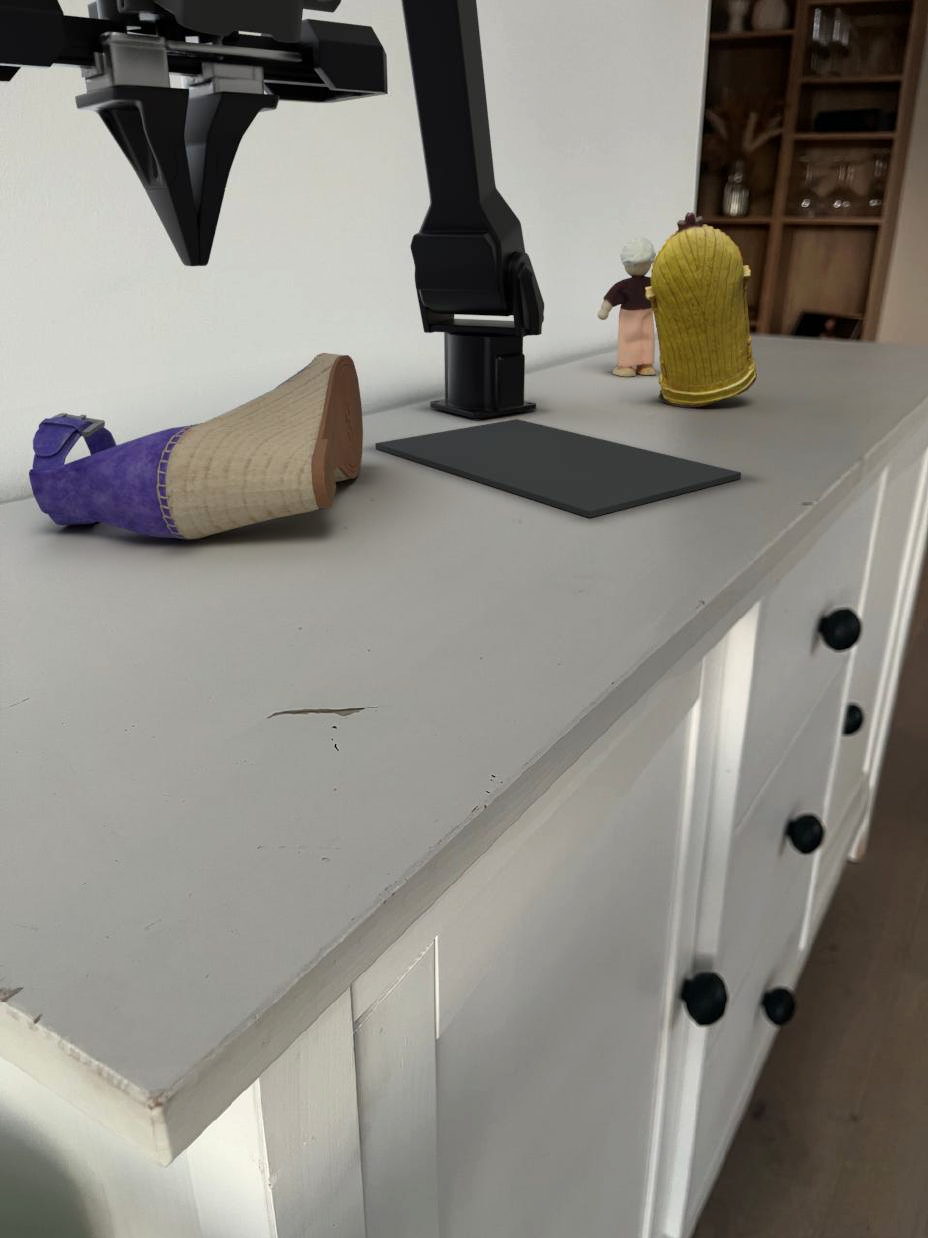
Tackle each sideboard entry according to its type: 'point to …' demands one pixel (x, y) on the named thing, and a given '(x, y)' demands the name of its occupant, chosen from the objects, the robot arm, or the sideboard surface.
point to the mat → (559, 466)
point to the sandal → (210, 461)
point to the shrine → (701, 316)
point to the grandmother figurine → (633, 311)
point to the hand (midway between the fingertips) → (195, 265)
